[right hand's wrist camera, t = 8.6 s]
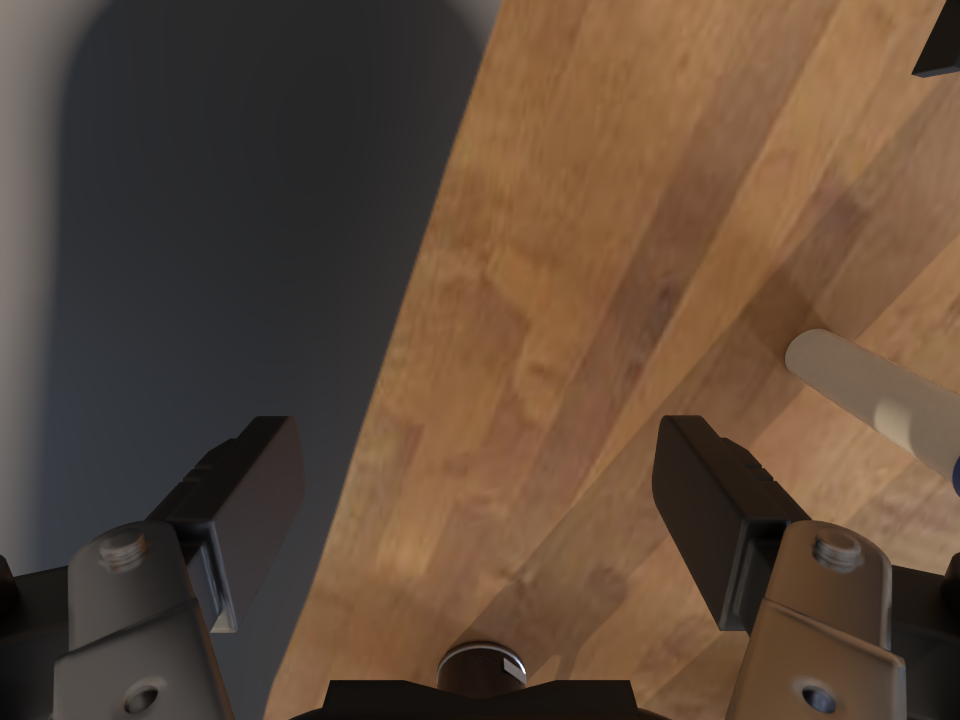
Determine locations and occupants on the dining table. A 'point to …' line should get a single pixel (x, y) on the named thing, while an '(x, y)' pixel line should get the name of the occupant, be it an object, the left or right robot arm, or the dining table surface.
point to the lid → (956, 477)
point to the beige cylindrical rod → (882, 396)
